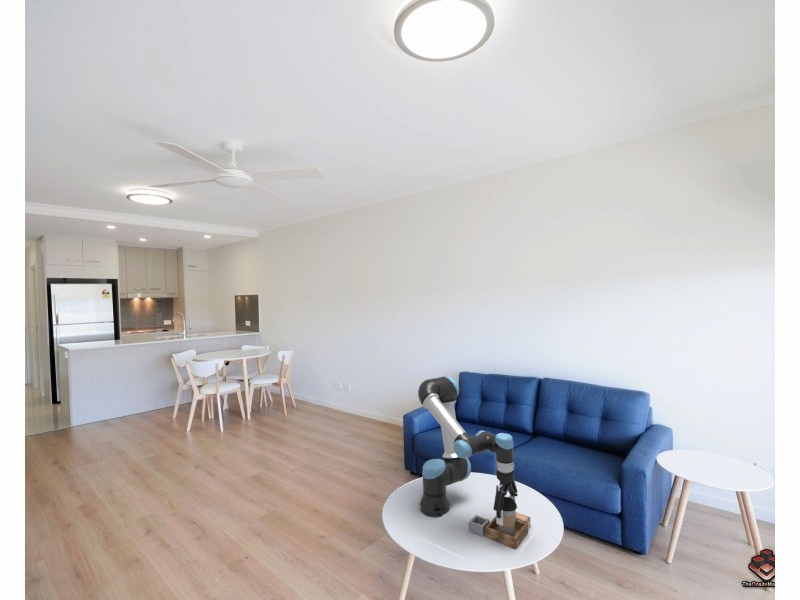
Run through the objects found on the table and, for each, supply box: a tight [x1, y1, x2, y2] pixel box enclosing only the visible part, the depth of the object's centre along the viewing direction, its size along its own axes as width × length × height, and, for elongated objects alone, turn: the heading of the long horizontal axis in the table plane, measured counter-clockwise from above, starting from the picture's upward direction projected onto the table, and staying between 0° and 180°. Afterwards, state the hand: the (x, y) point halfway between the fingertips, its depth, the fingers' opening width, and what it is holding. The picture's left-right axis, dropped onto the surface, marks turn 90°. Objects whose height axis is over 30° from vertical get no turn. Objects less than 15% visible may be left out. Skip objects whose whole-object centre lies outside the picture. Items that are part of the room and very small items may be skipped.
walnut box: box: [484, 516, 529, 550], centre depth 172 cm, size 14×14×5 cm
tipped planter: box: [515, 512, 531, 530], centre depth 178 cm, size 7×5×5 cm
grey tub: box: [468, 514, 491, 537], centre depth 176 cm, size 7×7×5 cm
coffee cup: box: [499, 496, 518, 537], centre depth 171 cm, size 9×9×15 cm
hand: (506, 517), depth 172 cm, fingers open, 13 cm apart
